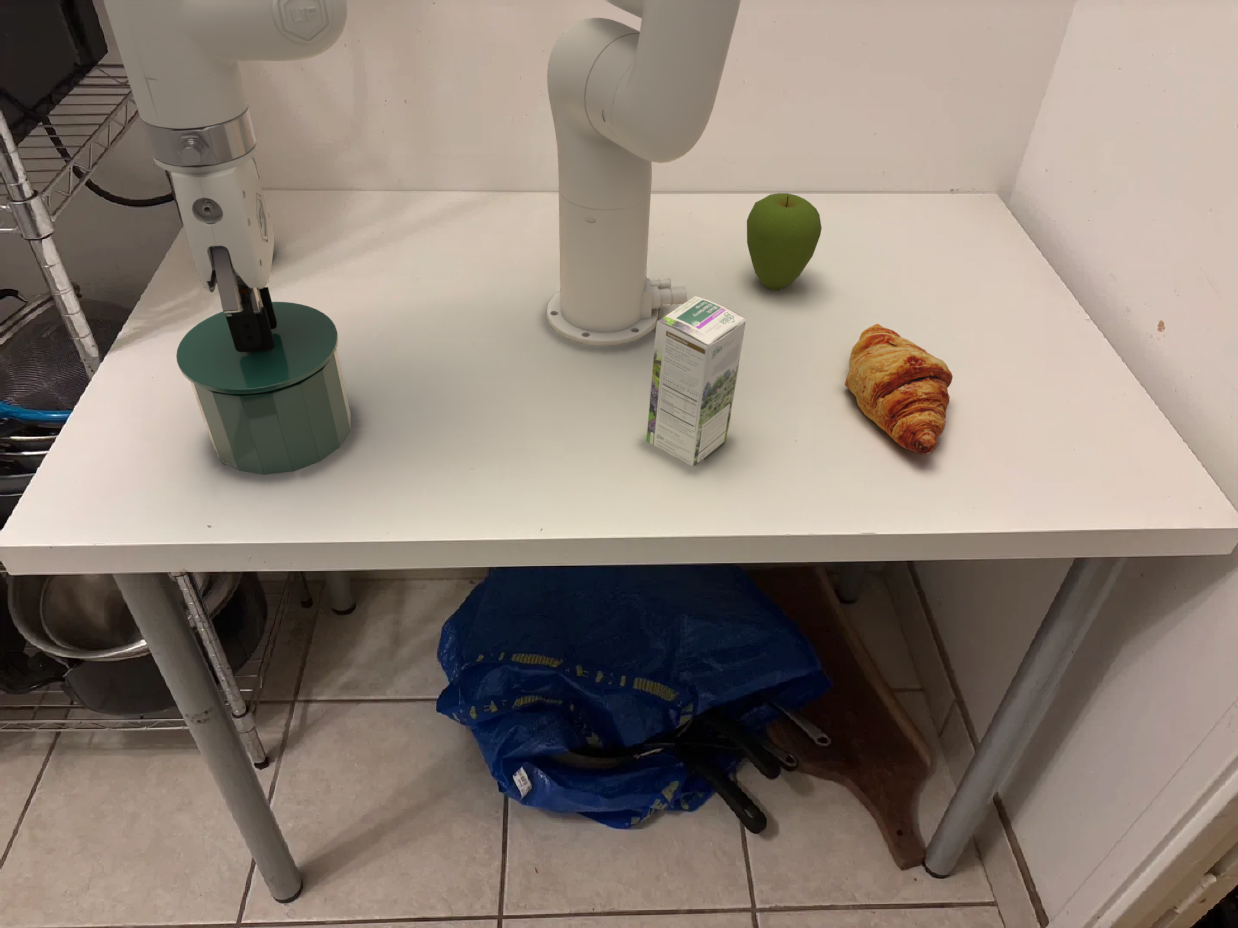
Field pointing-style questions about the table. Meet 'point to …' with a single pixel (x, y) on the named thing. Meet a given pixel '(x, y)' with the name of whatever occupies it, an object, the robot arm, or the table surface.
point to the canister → (279, 422)
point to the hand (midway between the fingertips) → (257, 337)
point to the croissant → (900, 387)
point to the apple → (782, 238)
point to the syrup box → (694, 379)
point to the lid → (295, 356)
